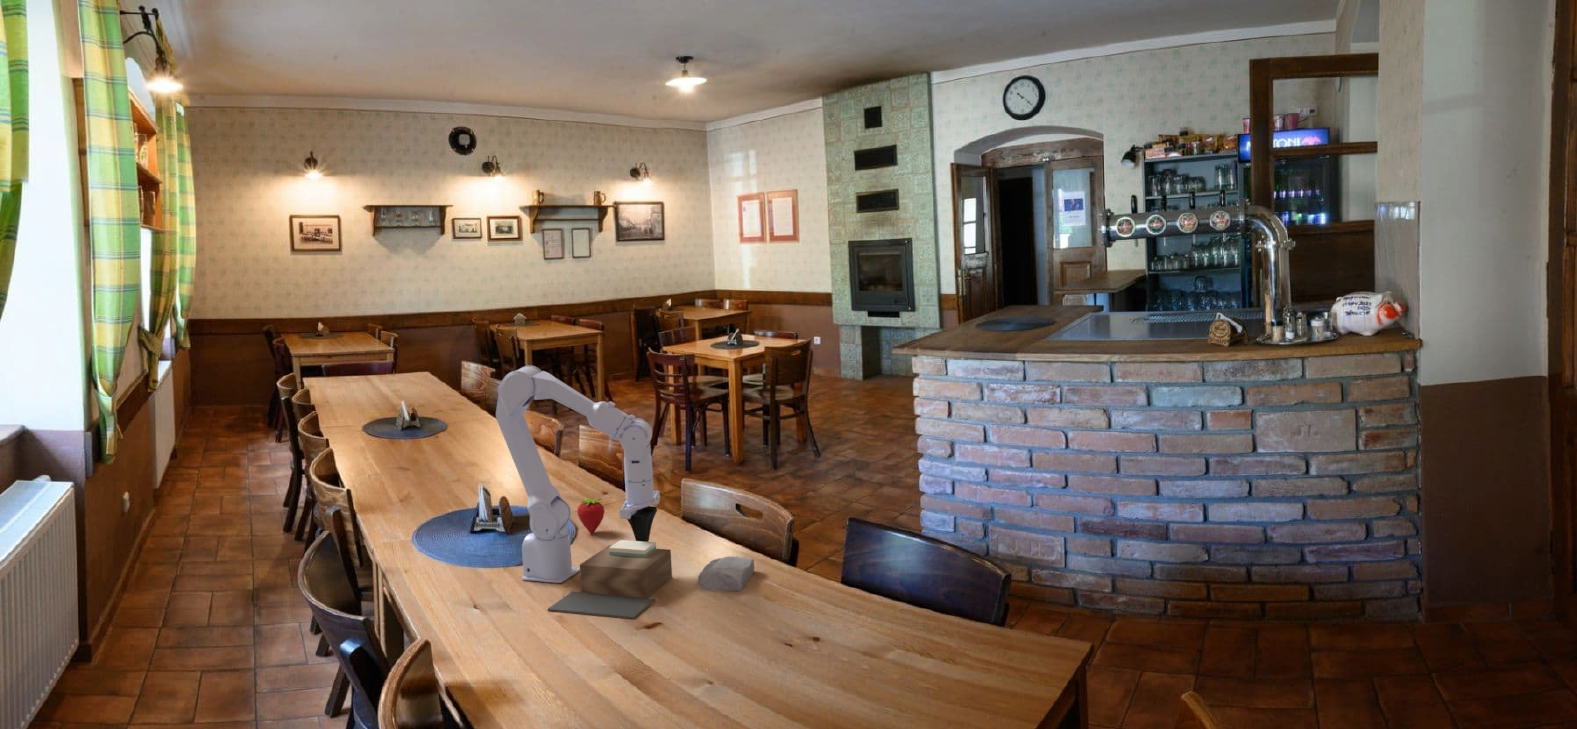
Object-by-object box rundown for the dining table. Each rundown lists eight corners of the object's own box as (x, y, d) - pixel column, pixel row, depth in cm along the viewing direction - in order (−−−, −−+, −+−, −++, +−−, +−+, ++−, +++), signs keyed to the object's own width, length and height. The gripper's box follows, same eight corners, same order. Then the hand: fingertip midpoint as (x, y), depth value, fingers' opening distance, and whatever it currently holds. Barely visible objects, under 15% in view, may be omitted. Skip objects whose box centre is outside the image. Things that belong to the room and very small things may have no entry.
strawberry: (594, 527, 225) (591, 487, 223) (611, 533, 219) (608, 492, 218) (573, 532, 220) (570, 492, 219) (590, 539, 215) (587, 497, 214)
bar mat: (547, 610, 172) (547, 608, 172) (572, 593, 181) (572, 591, 181) (633, 619, 167) (633, 617, 167) (655, 600, 176) (655, 598, 175)
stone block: (697, 600, 180) (745, 592, 178) (691, 576, 180) (739, 568, 178) (713, 580, 192) (758, 572, 190) (708, 558, 192) (753, 550, 190)
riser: (581, 594, 180) (579, 564, 180) (611, 572, 192) (609, 545, 191) (645, 599, 176) (644, 569, 175) (672, 577, 187) (670, 549, 187)
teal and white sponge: (609, 554, 185) (608, 547, 185) (621, 546, 190) (620, 540, 189) (645, 557, 182) (644, 550, 182) (656, 549, 187) (655, 542, 187)
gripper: (640, 489, 180) (644, 555, 182) (671, 471, 194) (674, 533, 196) (608, 487, 182) (612, 553, 184) (641, 470, 196) (644, 531, 198)
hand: (642, 542), depth 190 cm, fingers closed
